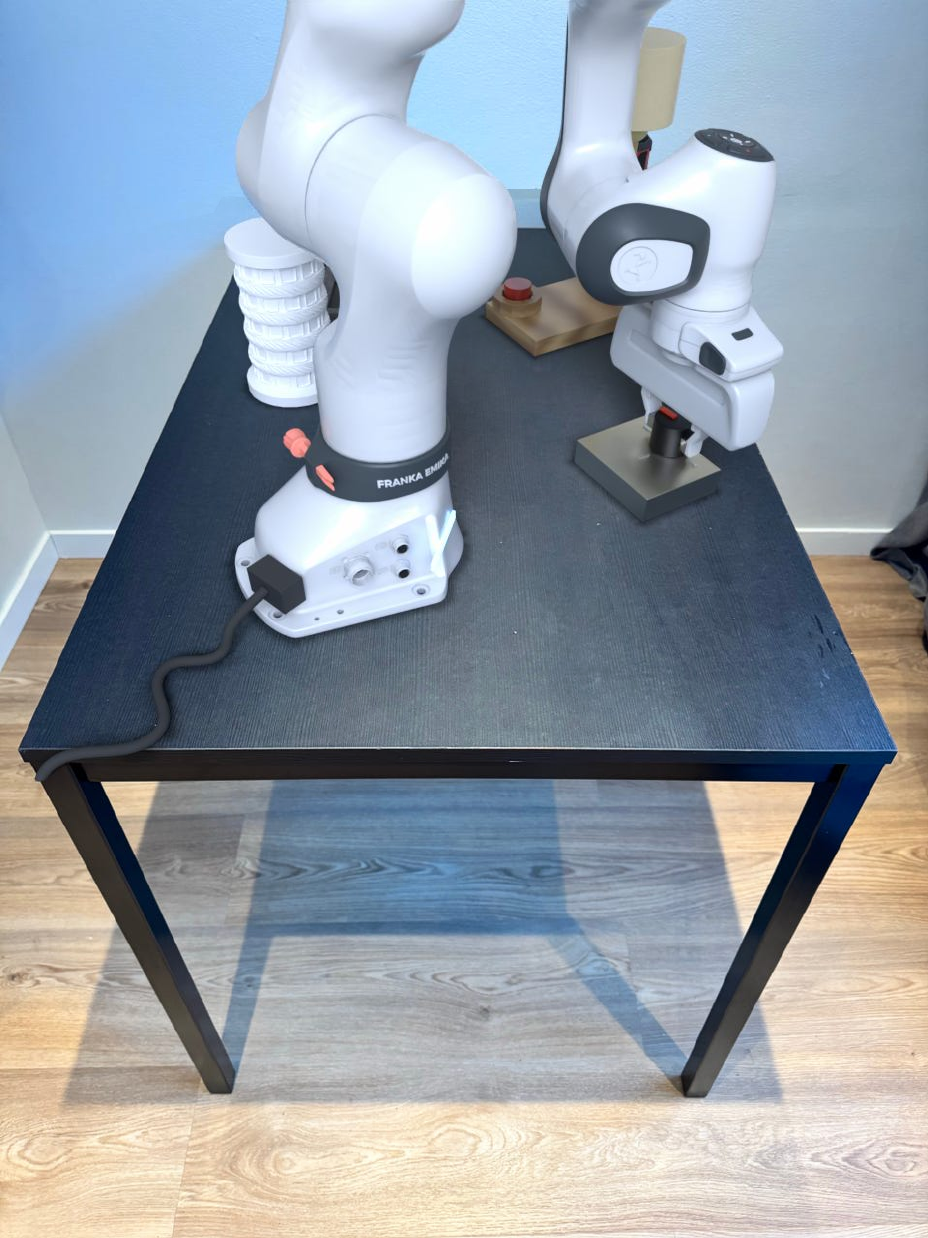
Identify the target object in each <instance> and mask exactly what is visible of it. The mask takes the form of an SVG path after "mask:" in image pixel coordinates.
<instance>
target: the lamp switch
mask: <svg viewBox="0 0 928 1238" xmlns="http://www.w3.org/2000/svg"><path fill="white" fill-rule="evenodd" d="M503 284H504V297H505V298H506V299H509V300H512V301H524V300H527V299H530V297H531V285H532V281H531V280H530V279H527V278H525V277H524V278H523V277H520V276H519V277H515V276H514V277H510V278H507V279H506V280H504V281H503Z"/></svg>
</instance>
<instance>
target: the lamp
mask: <svg viewBox="0 0 928 1238" xmlns="http://www.w3.org/2000/svg"><path fill="white" fill-rule="evenodd" d="M687 42H688V39H687V37H686V36H685V35H683V34H682V33H680V32H678V31H675V30H672V29H667V28H662V27H655V26H647V28H646V30H645V33H644V36H643V40H642V44H641V50H640V58H639V66H638V75H637V83H636V92H635V100H634V109H633V117H632V126H631V137H632V143H633V148H634V151H635V154H637V147H638V141H640V140H642V139H643V138H644V137H645V136H646V135H647V134H649V132H655V131H660V130H664V129H667V128H668V127H670V126H672V124H673V123H674V121H675V114H676V107H677V101H678V97H679V96H678V95H679V89H680V84H681V78H682V71H683V66H684V61H685V60H684V59H685V54H686V47H687Z"/></svg>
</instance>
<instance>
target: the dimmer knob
mask: <svg viewBox="0 0 928 1238" xmlns="http://www.w3.org/2000/svg"><path fill="white" fill-rule="evenodd" d="M691 426H692V423H691V422H690V421H688V420H687V419H686V418H684V417H683V416H682V415H680V414H679V413H677V412H676V411H675V410H673V409H672V408H671V407H669V406H667V407H666V406H664V405H662V407H660V408H659V410H658V411H657V412H656V413H655V416H654V421H653V426H652V431H651V436H650V441H649V445H650V448H651V449H652V450H653V451H654V452H655V453H657V454H659V455H661V456H664V457H669V458H677V457H682V456H684V455H685V454H683V453H682V452H681V451H680V450H679V446H681V445H680V441H681V438H682V437H685V436H689V435H690V434H692V433H695V432H693V431H692V430H691Z"/></svg>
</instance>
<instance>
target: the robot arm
mask: <svg viewBox="0 0 928 1238" xmlns="http://www.w3.org/2000/svg"><path fill="white" fill-rule="evenodd" d="M673 1H674V0H566V4H567V7H566V8H567V15H566V16H567V17H566V31H565V45H564V46H565V49H564V66H563V81H562V83H563V84H562V101H561V104H562V105H561V117H560V128H559V133H558V138H557V142H556V146H555V148H554V151H553V154H552V157H551V159H550V161H549V164H548V166H547V168H546V172H545V174H544V177H543V180H542V184H541V188H540V194H539V213H540V215H541V216H540V217H541V220H542V223H543V225H544V228H545V229H546V231H547V232H548V234H549V235H550V237H551V238H552V239H553V241H554V242H555V243H556V244H557V246H558V247H559V248H560V251H561V252H562V254H563V256H564V258H565V260H566V261H567V263H568V266H569V267H570V268H571V270H572V272H573V274H574V275H575V277H577V279H578V280H579V282H580V283H581V285H582V287H583V288H584V290H585V291H586V292H587V293H588V294H589V295H590V296H591V297H593V298H594V299H596V300H597V301H599V302H602V303H604V304H608V305H613V306H623V309H622V310H621V312H620V314H619V317H618V320H617V323H616V327H615V330H614V331H613V335H612V338H611V343H610V349H609V355H610V360H611V363H612V365H613V366H614V367H615V368H616V369H618V370H619V371H620V372H622V373H623V374H625V375H626V376H627V377H629V378H630V379H631V380H633V381H634V382H636V383H637V384H638V385H639V386H641V390H640V395H641V398H642V402H643V403H642V404H643V407H644V411H645V414H644V416H645V419H644V423H645V424H646V425H647V426H649V427H650V428H651V429H652V426H653V421H654V416H655V413H656V412H657V411H658V410H659V408H660V407H662V406H663V403H664V404H665V405H667V407H671V408H672V409H673V410H675V411H676V412H677V413H679V414H680V415H682V416H683V417H684V418H686V419H687V420H688V421H690V422H691V423H692V426H691V430H692V431H693V432H694V433H692V434H690V435H689V436H685V437H682V438H681V441H680V445H681V446H679V450H680V451H681V452H682V453H683V454H685V455H686V456H687V457H689V458H690V457H693V456H695V455H697V454H699V453H700V452H701V450H702V446H703V442H704V441H705V440H706V439H708V438H711V439H712V440H714V441H715V442H716V443H718V444H719V445H721V447H723V448H724V449H725V450H727V451H730V452H735V451H738V450H741V449H745V448H747V447H749V446H752V445H754V444H755V443H757V442H759V441H760V440H761V439H762V437H763V436H764V434H765V431H766V428H767V426H768V422H769V418H770V416H771V412H772V407H773V402H774V398H775V394H776V393H775V392H776V379H775V375H774V372H773V370H772V368H775V367H777V366H778V365H780V363H782V359H783V357H784V346H783V344H782V343H781V341H780V340H779V339H778V338H777V336H775V335H774V333H773V332H772V331H771V330H770V329H769V328H768V326H767V324H765V322H764V320H762V318H761V317H760V316H759V314H758V312H757V310H756V309H755V307H754V305H752V303H751V300H752V297H753V291H754V285H753V279H754V278H753V277H754V271H755V268H756V266H757V264H758V262H759V260H760V259H761V258H762V255H763V253H764V250H765V246H766V242H767V238H768V234H769V230H770V225H771V221H772V217H773V211H774V206H775V201H776V193H777V185H778V164H777V161H776V160H775V158H774V155H773V154H772V153H771V152H770V151H769V150H768V148H766V147H765V146H764V145H763V144H761V142H758V141H757V140H756V139H754V138H752V137H749V136H747V135H745V134H743V133H740V132H738V131H734V130H729V129H725V128H715V127H709V128H705V129H704V128H703V129H699V130H696V131H694V132H693V133H692V134H691V136H690V137H689V138H688V140H686V142H685V143H684V144H683V145H682V146H680V147H679V148H678V149H677V150H675V151H674V152H671V154H670V155H668V156H667V157H665V158H664V159H662V160H661V161H659V162H657V163H655V164H654V165H651V166H650V167H647V169H645V170H642V168H641V166H640V164H639V162H638V159H637V157H636V154H635V151H634V148H633V143H632V137H631V126H632V117H633V109H634V100H635V92H636V83H637V75H638V66H639V58H640V50H641V44H642V40H643V36H644V33H645V30H646V28H647V27H649V26H648V25H649V24H650V22H651V20H652V18H653V17H654V15H655V14H656V13H657V12H658V11H659V10H660V9H662V8H664V7H665V6H667V5H669V4H670V3H672V2H673ZM466 3H467V0H286V6H285V14H284V20H283V25H282V26H283V27H282V32H281V36H280V41H279V46H278V49H277V54H276V58H275V62H274V66H273V70H272V73H271V77H270V79H269V82H268V83H269V84H268V86H267V88H266V91H265V92H264V95H263V96H262V97H261V99H259V101H257V102H256V103H255V104H254V105H253V106H252V108H251V109H250V110H249V112H248V113H247V114H246V116H245V118H244V120H243V121H242V124H241V126H240V128H239V132H238V134H237V139H236V144H235V150H234V151H235V152H234V164H235V171H236V176H237V180H238V183H239V186H240V188H241V191H242V193H243V194H244V196H245V198H246V200H247V201H248V202H249V203H250V204H251V205H252V207H253V208H254V209H255V210H256V212H257V213H258V214H259V216H260V217H262V218H263V219H264V220H265V221H266V222H267V223H268V224H269V225H270V226H271V227H272V228H273V230H274V231H275V232H276V233H277V234H278V235H280V236H281V237H282V238H283V239H285V240H286V241H288V242H290V243H291V244H293V245H295V246H296V247H298V248H300V249H301V250H303V251H305V252H306V253H308V254H310V255H311V256H313V257H315V258H316V259H318V260H320V261H321V262H323V263H324V265H326V267H327V266H328V267H330V269H331V271H332V273H333V275H334V277H335V279H336V281H337V284H338V287H339V291H340V308H339V315H338V318H337V319H336V320H334V321H333V322H332V323H331V324H329V325H328V326H327V327H326V328H325V329H324V330H323V331H322V333H321V334H320V335H319V336H318V338H317V340H316V342H315V345H314V348H313V355H312V360H313V367H314V375H315V383H316V391H317V399H318V403H317V405H318V413H319V423H318V425H317V427H316V430H315V433H314V437H313V439H312V441H311V439H309V437H308V438H307V436H306V434H305V433H304V431H303V430H301V429H300V428H291V429H289V430H287V431H286V433H285V435H284V436H283V441H282V442H283V444H284V446H285V447H286V448H287V449H288V450H289V451H290V454H291V455H292V456H293V457H295V458H299V459H300V458H303V459H304V465H303V466H302V467H301V468H299V470H297V472H296V473H295V474H294V475H293V476H292V477H291V478H290V479H289V480H288V481H286V482H285V484H283V486H281V488H279V489H278V491H276V492H275V493H274V494H273V495H272V496H271V497H270V498H268V499H267V501H266V502H264V503H263V504H262V505H260V508H259V509H258V512H257V514H256V517H255V522H254V533H253V537H251V538H249V539H247V540H245V541H244V542H242V543H240V545H238V547H237V549H236V552H235V556H234V566H235V576H236V580H237V584H238V587H239V588H240V591H241V593H242V594H243V596H244V598H245V601H244V602H243V603H241V605H240V606H239V607H238V608H237V609H236V610H235V611H234V612H233V613H232V615H231V616H230V618H229V619H228V620H227V622H226V624H225V626H224V628H223V632H222V635H221V643H220V645H219V647H218V648H217V649H215V650H214V651H212V652H210V653H206V654H198V655H181V656H176V657H172V658H170V659H167V660H166V661H164V662H163V663H162V664H160V666H158V668H157V669H156V670H155V671H154V674H153V675H152V677H151V683H150V686H151V693H152V698H153V700H154V703H155V706H156V710H157V714H158V717H157V722H156V725H155V726H154V728H153V729H152V730H151V731H150V732H148V733H147V734H145V735H144V736H142V737H140V738H137V739H135V740H132V741H128V742H127V741H126V742H122V743H115V744H101V745H87V746H78V747H73V748H69V749H64V750H61V751H60V752H57V753H55V754H54V755H52V756H51V757H49V758H48V759H47V760H46V761H45V762H43V764H42V765H40V767H39V768H38V770H37V772H36V774H35V775H34V777H33V779H34V782H37V783H40V782H44V781H45V780H47V779H48V778H49V777H50V776H51V775H52V774H53V772H54V771H56V770H58V768H59V767H61V766H63V765H65V764H68V763H70V762H73V761H79V760H85V759H96V758H109V757H111V758H112V757H119V756H127V755H132V754H135V753H138V752H142V751H144V750H146V749H148V748H149V747H151V746H153V745H154V744H156V743H157V742H158V741H159V740H160V739H162V737H164V735H165V734H166V732H167V731H168V728H169V726H170V724H171V723H170V722H171V717H172V716H171V710H170V706H169V702H168V700H167V696H166V693H165V690H164V681H165V679H166V677H167V676H168V674H169V673H171V672H172V671H174V670H176V669H179V668H189V667H204V666H209V665H214V664H216V663H218V662H221V661H222V660H224V659H225V658H226V657H227V656H228V654H230V652H231V649H232V645H233V641H234V635H235V633H236V631H237V629H238V627H239V626H240V624H241V623H242V622H243V620H244V619H245V618H246V617H247V616H248V615H249V614H250V612H252V611H254V613H255V614H256V615H257V616H258V617H259V618H260V619H261V620H262V622H264V623H265V624H266V625H267V626H269V627H270V628H271V629H273V630H274V631H276V632H278V633H280V634H282V635H284V636H287V637H289V638H293V639H297V638H298V639H299V638H304V637H308V636H311V635H315V634H320V633H323V632H328V631H331V630H336V629H340V628H344V627H347V626H351V625H356V624H360V623H363V622H367V621H371V620H376V619H379V618H383V617H384V618H385V617H388V616H392V615H395V614H399V613H404V612H407V611H412V610H415V609H419V608H423V607H428V606H431V605H436V604H438V603H441V602H443V601H444V600H445V598H446V596H447V593H448V589H449V578H450V576H451V574H452V573H453V571H454V570H455V568H456V567H457V565H458V564H459V562H460V560H461V558H462V555H463V551H464V536H463V533H462V531H461V528H460V525H459V523H458V520H457V517H456V510H455V508H454V505H453V500H452V499H453V498H452V494H451V493H452V492H451V486H450V478H449V468H450V466H451V464H452V463H451V462H452V428H451V427H452V426H451V422H450V418H449V416H448V415H447V386H448V385H447V383H448V381H447V380H448V357H449V351H450V345H451V342H452V338H453V335H454V332H455V329H456V327H457V325H458V324H459V322H460V320H461V319H462V318H464V317H466V316H468V315H471V314H472V313H474V312H475V311H477V310H478V309H480V308H481V307H482V306H483V305H485V304H486V302H489V300H490V299H492V296H493V295H494V293H495V292H496V291H497V290H498V288H499V287H500V285H502V284H503V283H504V282H505V278H506V277H507V275H508V273H509V270H510V268H511V265H512V263H513V260H514V256H515V253H516V249H517V242H518V241H517V240H518V217H517V211H516V210H517V209H516V207H515V203H514V200H513V198H512V195H511V194H510V191H509V190H508V189H507V187H506V185H504V184H503V183H502V182H501V181H500V180H499V179H498V178H496V177H495V176H494V175H493V174H492V173H491V172H490V171H489V170H488V169H486V168H485V167H484V166H483V165H482V164H481V163H479V162H478V161H477V160H476V159H474V158H473V157H472V156H471V155H470V154H468V153H467V152H465V151H464V150H463V149H462V148H461V147H459V146H458V145H456V144H454V143H452V142H449V141H447V140H445V139H442V138H440V137H438V136H435V135H433V134H430V133H428V132H426V131H423V130H422V129H418V128H417V127H414V126H411V125H410V124H408V120H407V119H408V116H407V114H408V113H407V112H408V105H409V102H410V101H409V100H410V97H411V91H412V89H413V85H414V83H415V79H416V76H417V74H418V71H419V69H420V67H421V65H422V63H423V61H424V59H425V57H426V55H428V52H429V51H430V50H431V49H432V48H435V47H436V46H439V45H440V44H441V43H443V42H444V41H445V40H447V39H448V38H449V37H450V36H451V35H452V34H453V32H455V30H456V28H457V27H458V25H459V23H461V20H462V16H463V14H464V12H465V7H466Z"/></svg>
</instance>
